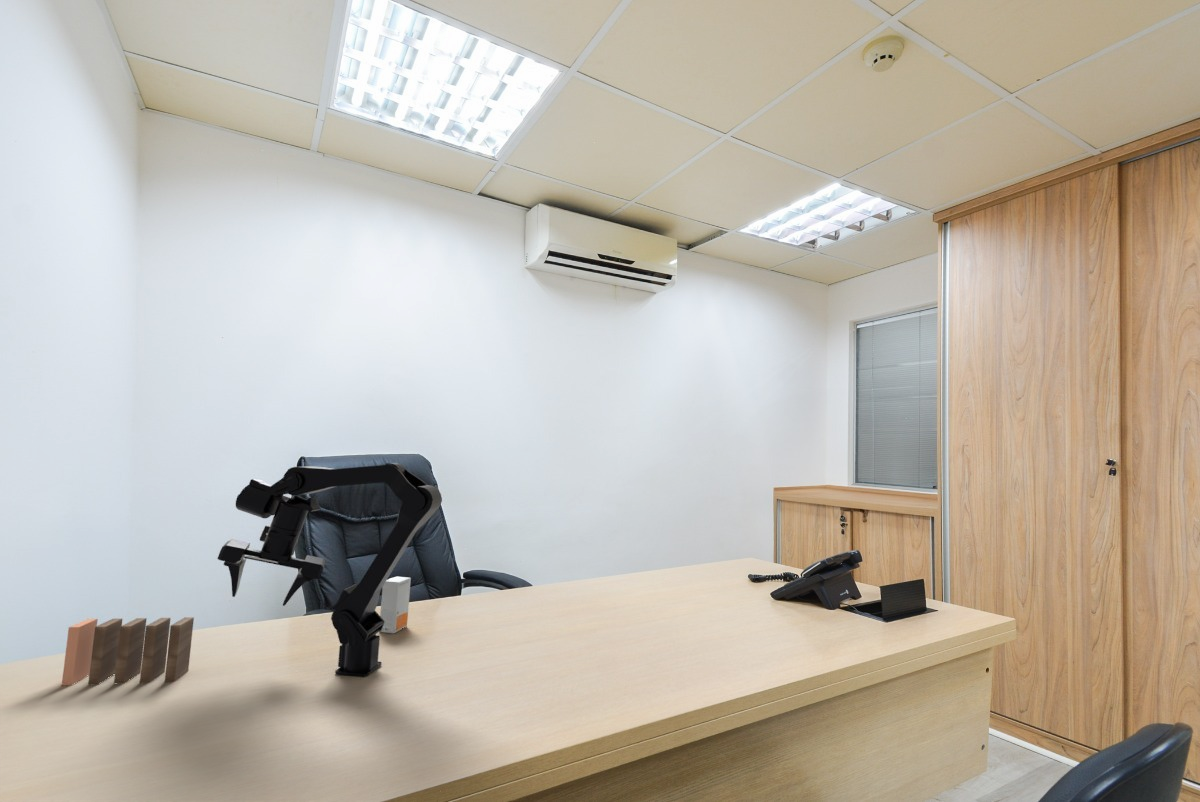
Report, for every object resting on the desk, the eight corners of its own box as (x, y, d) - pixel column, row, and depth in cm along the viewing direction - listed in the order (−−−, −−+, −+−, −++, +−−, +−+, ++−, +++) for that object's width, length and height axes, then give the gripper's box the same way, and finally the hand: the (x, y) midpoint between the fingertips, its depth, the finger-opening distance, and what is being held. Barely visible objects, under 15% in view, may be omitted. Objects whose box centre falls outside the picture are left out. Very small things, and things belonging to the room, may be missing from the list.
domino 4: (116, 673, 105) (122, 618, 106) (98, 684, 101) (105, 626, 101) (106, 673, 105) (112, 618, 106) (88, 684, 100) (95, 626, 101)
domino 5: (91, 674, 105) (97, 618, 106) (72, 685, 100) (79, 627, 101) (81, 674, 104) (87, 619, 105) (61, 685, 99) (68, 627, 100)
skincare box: (394, 634, 134) (398, 582, 135) (378, 632, 135) (382, 581, 136) (408, 626, 140) (411, 577, 141) (392, 625, 140) (396, 575, 142)
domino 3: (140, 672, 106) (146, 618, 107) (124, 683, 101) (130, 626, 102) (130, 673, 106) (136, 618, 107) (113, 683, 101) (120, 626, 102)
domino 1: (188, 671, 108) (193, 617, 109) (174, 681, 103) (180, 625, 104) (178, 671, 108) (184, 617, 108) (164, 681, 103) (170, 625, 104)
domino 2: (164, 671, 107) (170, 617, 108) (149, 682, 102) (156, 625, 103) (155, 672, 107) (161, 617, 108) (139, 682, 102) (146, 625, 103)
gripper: (337, 527, 126) (313, 595, 124) (245, 506, 119) (218, 577, 118) (333, 540, 115) (306, 615, 114) (232, 518, 109) (202, 597, 107)
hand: (259, 600), depth 114 cm, fingers open, 9 cm apart
